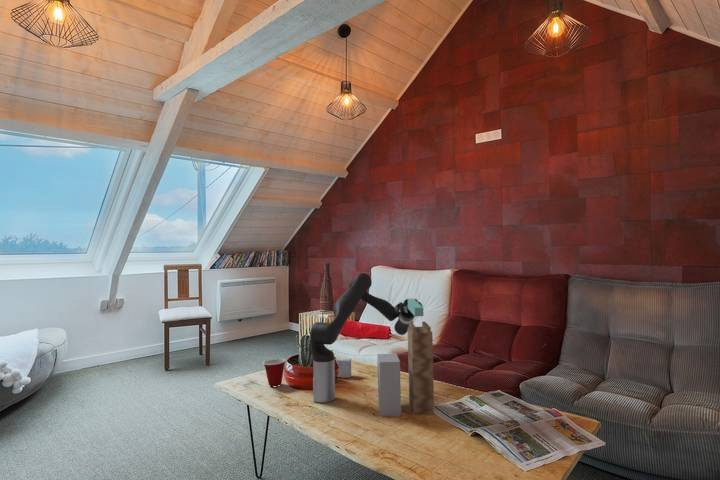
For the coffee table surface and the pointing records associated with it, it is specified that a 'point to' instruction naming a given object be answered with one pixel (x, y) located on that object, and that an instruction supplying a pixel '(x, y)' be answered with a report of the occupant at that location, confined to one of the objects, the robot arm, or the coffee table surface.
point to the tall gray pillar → (389, 385)
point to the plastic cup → (274, 371)
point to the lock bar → (415, 307)
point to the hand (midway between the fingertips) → (411, 301)
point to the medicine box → (344, 368)
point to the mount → (420, 369)
